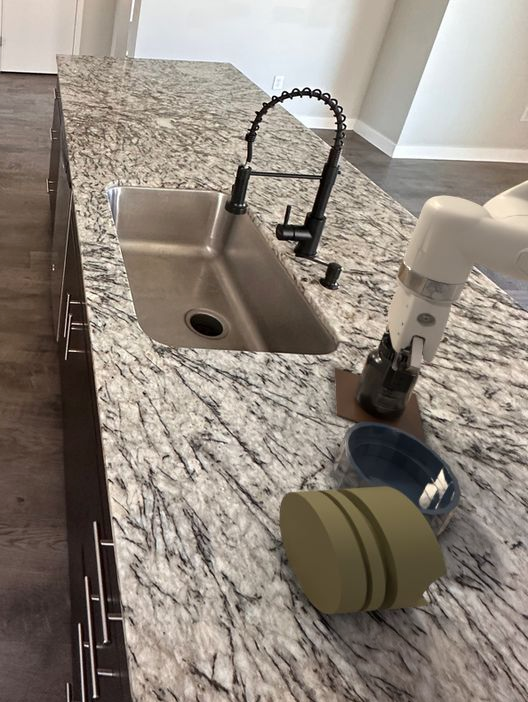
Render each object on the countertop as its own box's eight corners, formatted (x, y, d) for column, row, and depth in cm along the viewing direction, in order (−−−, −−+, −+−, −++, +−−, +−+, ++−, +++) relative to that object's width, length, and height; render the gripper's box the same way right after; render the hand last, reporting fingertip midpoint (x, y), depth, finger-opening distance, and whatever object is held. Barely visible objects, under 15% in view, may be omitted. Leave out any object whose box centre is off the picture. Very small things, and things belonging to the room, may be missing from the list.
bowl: (435, 472, 77) (448, 446, 75) (455, 561, 66) (471, 533, 64) (332, 434, 83) (341, 408, 80) (334, 510, 72) (346, 483, 70)
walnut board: (414, 396, 90) (415, 394, 89) (425, 449, 81) (426, 446, 80) (333, 369, 95) (334, 367, 94) (335, 416, 86) (336, 413, 85)
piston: (425, 627, 60) (462, 567, 55) (323, 636, 59) (353, 575, 54) (358, 523, 70) (385, 465, 66) (271, 529, 69) (292, 470, 65)
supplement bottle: (410, 409, 87) (435, 352, 82) (390, 429, 83) (416, 371, 78) (365, 380, 92) (386, 325, 87) (345, 398, 88) (366, 342, 83)
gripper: (477, 324, 69) (429, 423, 76) (448, 256, 83) (410, 344, 90) (407, 305, 72) (367, 402, 79) (392, 242, 86) (359, 329, 93)
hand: (391, 370), depth 84 cm, fingers closed on supplement bottle, 6 cm apart
